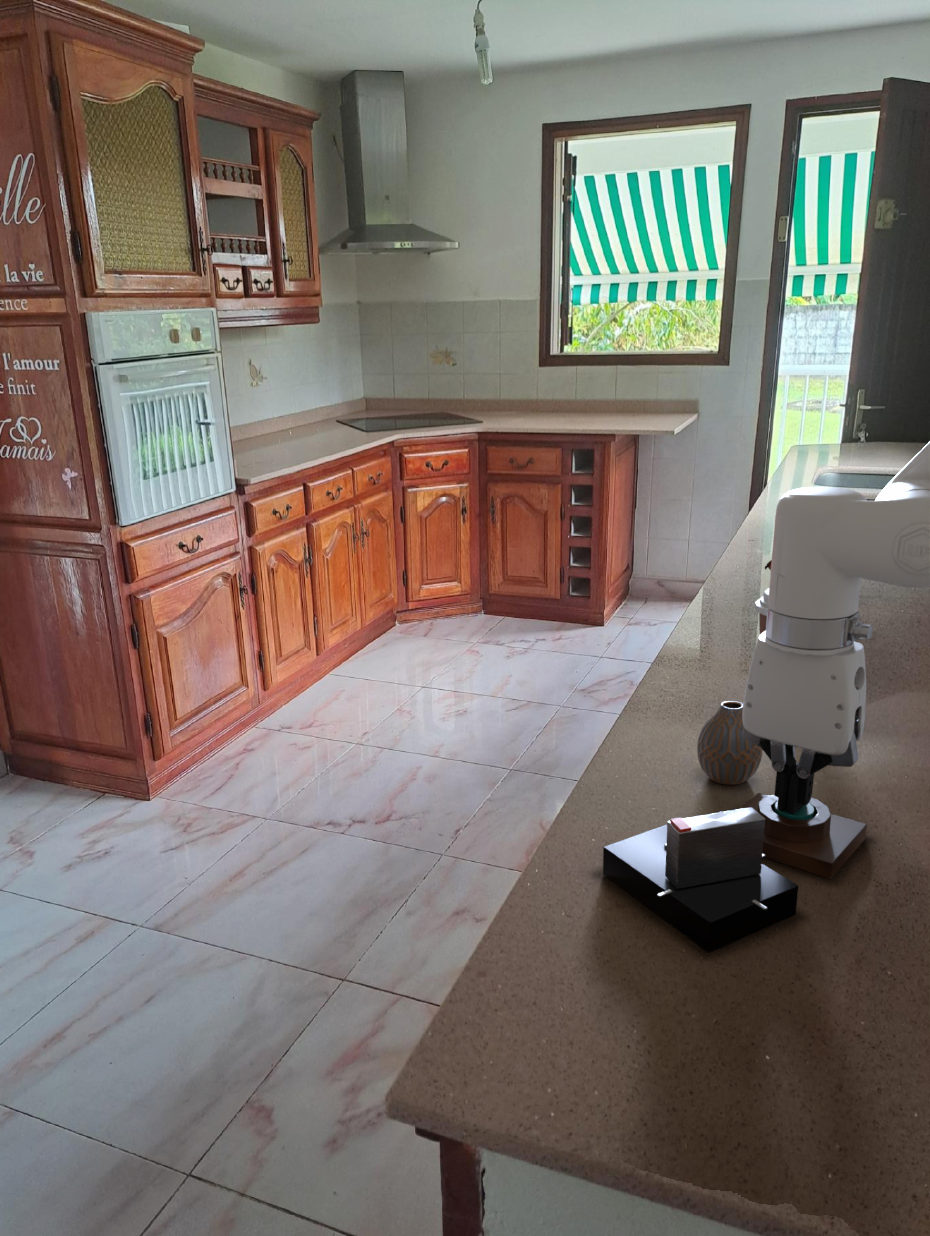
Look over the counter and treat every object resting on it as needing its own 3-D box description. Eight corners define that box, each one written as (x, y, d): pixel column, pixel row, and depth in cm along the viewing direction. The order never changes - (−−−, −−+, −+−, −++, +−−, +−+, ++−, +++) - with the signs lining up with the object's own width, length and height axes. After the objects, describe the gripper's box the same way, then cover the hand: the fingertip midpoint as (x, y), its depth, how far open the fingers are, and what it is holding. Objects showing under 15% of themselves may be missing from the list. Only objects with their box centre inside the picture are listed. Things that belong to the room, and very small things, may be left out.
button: (818, 821, 94) (820, 805, 93) (803, 836, 91) (805, 819, 90) (782, 810, 96) (783, 794, 95) (767, 824, 93) (768, 809, 93)
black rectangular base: (815, 917, 82) (818, 886, 81) (707, 965, 77) (709, 932, 76) (692, 841, 95) (694, 813, 94) (593, 877, 90) (593, 848, 89)
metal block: (747, 861, 86) (751, 804, 84) (761, 874, 84) (765, 816, 82) (664, 876, 84) (667, 818, 82) (676, 889, 82) (679, 830, 80)
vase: (721, 758, 112) (726, 688, 109) (773, 778, 107) (779, 705, 103) (682, 776, 108) (686, 704, 105) (734, 797, 103) (739, 722, 100)
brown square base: (865, 839, 94) (869, 807, 92) (830, 879, 88) (834, 846, 86) (757, 806, 101) (759, 777, 100) (717, 842, 95) (719, 810, 93)
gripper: (911, 631, 84) (885, 815, 91) (749, 604, 94) (736, 772, 100) (882, 654, 79) (856, 847, 86) (713, 623, 89) (702, 799, 95)
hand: (791, 806), depth 93 cm, fingers closed
